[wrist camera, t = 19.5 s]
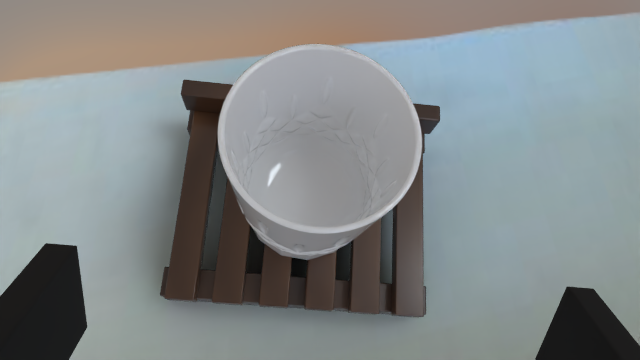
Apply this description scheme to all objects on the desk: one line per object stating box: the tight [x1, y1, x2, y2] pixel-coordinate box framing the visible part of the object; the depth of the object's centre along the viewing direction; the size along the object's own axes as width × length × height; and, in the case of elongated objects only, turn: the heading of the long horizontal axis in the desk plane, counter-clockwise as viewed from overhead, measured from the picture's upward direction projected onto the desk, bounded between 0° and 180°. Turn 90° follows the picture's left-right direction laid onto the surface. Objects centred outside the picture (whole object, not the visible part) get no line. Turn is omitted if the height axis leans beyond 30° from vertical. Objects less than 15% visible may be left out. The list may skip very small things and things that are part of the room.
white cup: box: [218, 44, 422, 260], centre depth 23 cm, size 8×8×10 cm
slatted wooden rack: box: [160, 80, 440, 317], centre depth 29 cm, size 15×12×5 cm
